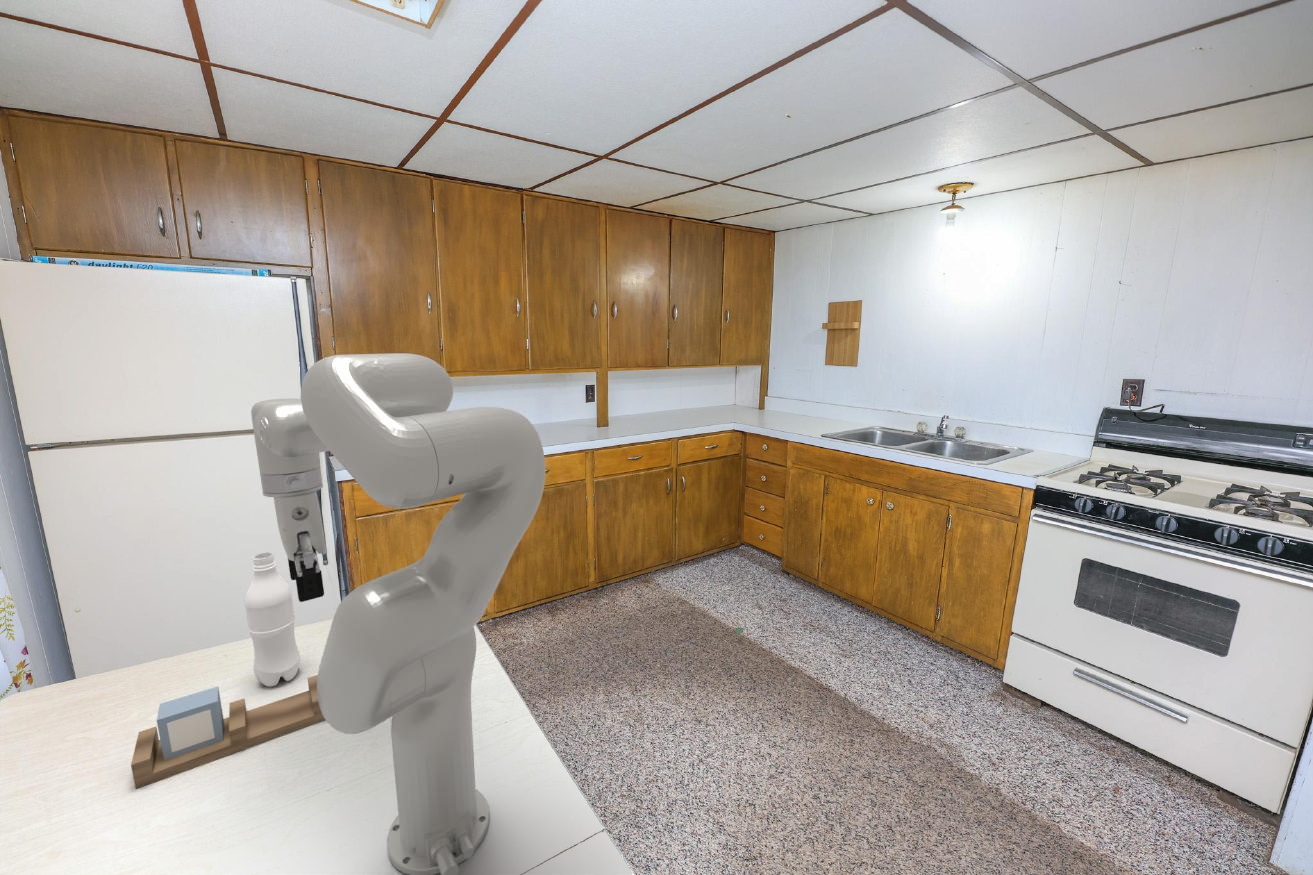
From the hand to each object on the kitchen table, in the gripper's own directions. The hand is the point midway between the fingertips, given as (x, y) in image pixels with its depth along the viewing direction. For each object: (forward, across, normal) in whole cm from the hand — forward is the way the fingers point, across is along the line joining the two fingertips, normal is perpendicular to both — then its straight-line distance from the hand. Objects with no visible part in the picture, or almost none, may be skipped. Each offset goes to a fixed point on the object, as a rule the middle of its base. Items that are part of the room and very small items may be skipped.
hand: (307, 587), depth 83 cm
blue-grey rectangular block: (+24, +9, +16) cm, 31 cm away
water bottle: (+25, +23, +4) cm, 34 cm away
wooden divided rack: (+26, +9, +11) cm, 29 cm away
